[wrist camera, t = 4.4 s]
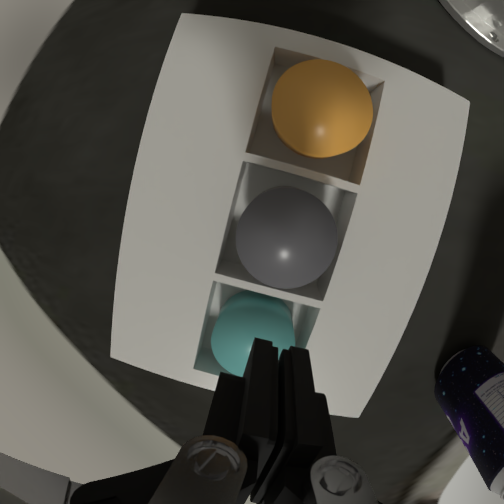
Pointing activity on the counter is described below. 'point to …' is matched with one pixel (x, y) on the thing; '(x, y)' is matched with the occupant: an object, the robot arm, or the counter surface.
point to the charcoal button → (286, 237)
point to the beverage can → (476, 409)
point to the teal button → (250, 328)
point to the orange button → (321, 109)
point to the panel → (274, 175)
